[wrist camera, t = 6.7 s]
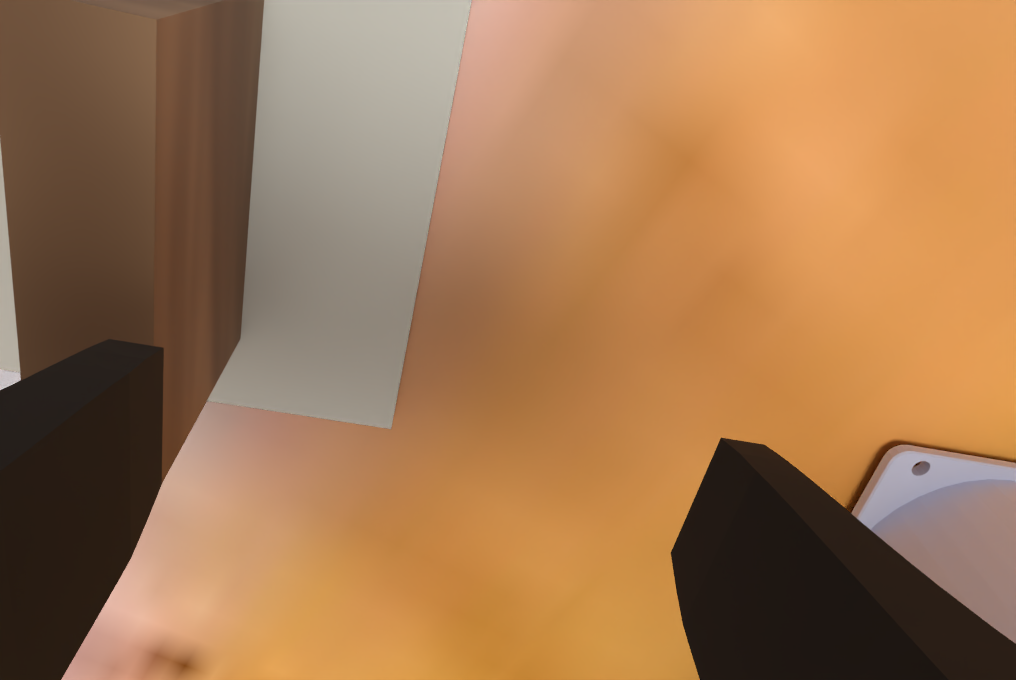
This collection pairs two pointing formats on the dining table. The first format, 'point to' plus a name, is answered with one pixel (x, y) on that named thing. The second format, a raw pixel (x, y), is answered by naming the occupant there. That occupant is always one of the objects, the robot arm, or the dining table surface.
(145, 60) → the tile
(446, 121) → the mat
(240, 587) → the dining table surface
